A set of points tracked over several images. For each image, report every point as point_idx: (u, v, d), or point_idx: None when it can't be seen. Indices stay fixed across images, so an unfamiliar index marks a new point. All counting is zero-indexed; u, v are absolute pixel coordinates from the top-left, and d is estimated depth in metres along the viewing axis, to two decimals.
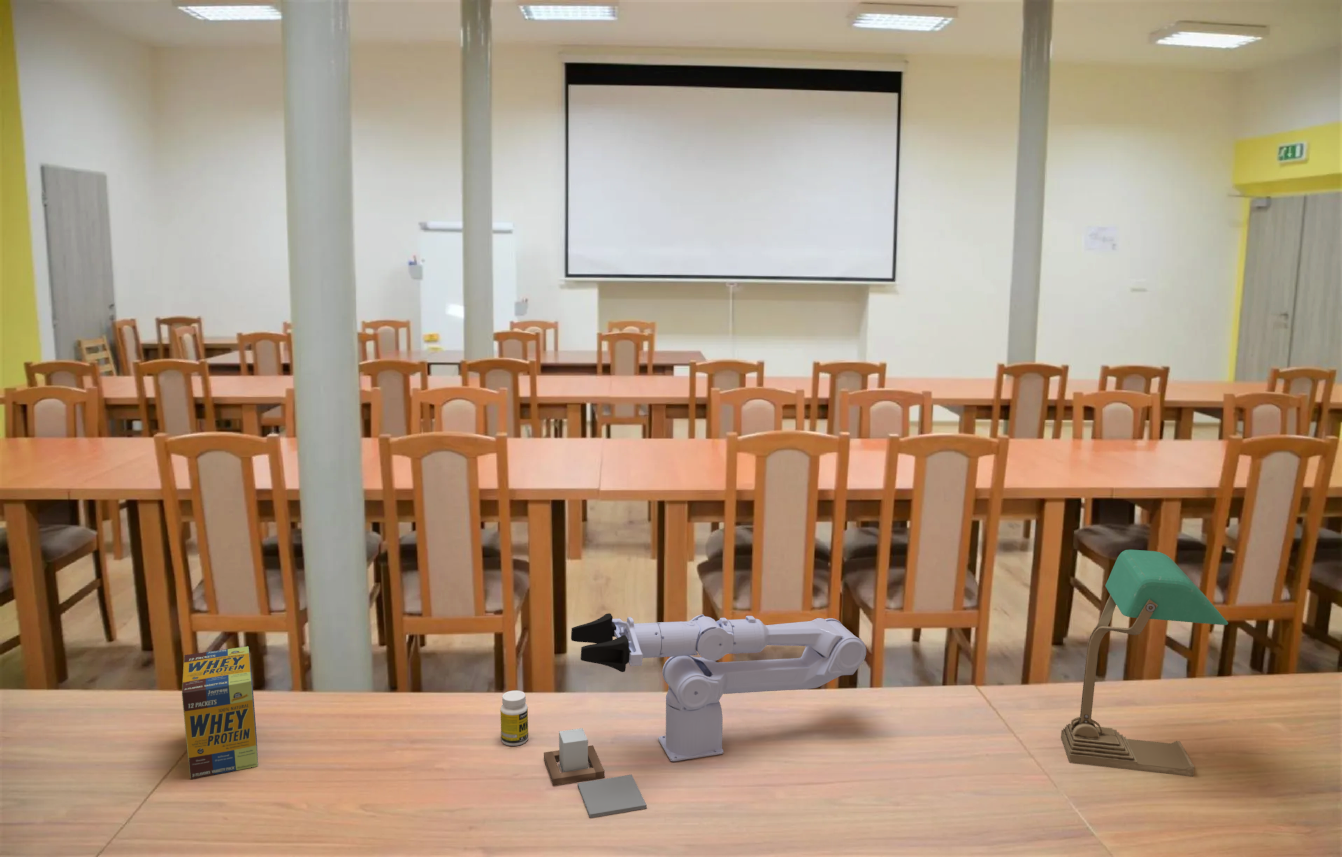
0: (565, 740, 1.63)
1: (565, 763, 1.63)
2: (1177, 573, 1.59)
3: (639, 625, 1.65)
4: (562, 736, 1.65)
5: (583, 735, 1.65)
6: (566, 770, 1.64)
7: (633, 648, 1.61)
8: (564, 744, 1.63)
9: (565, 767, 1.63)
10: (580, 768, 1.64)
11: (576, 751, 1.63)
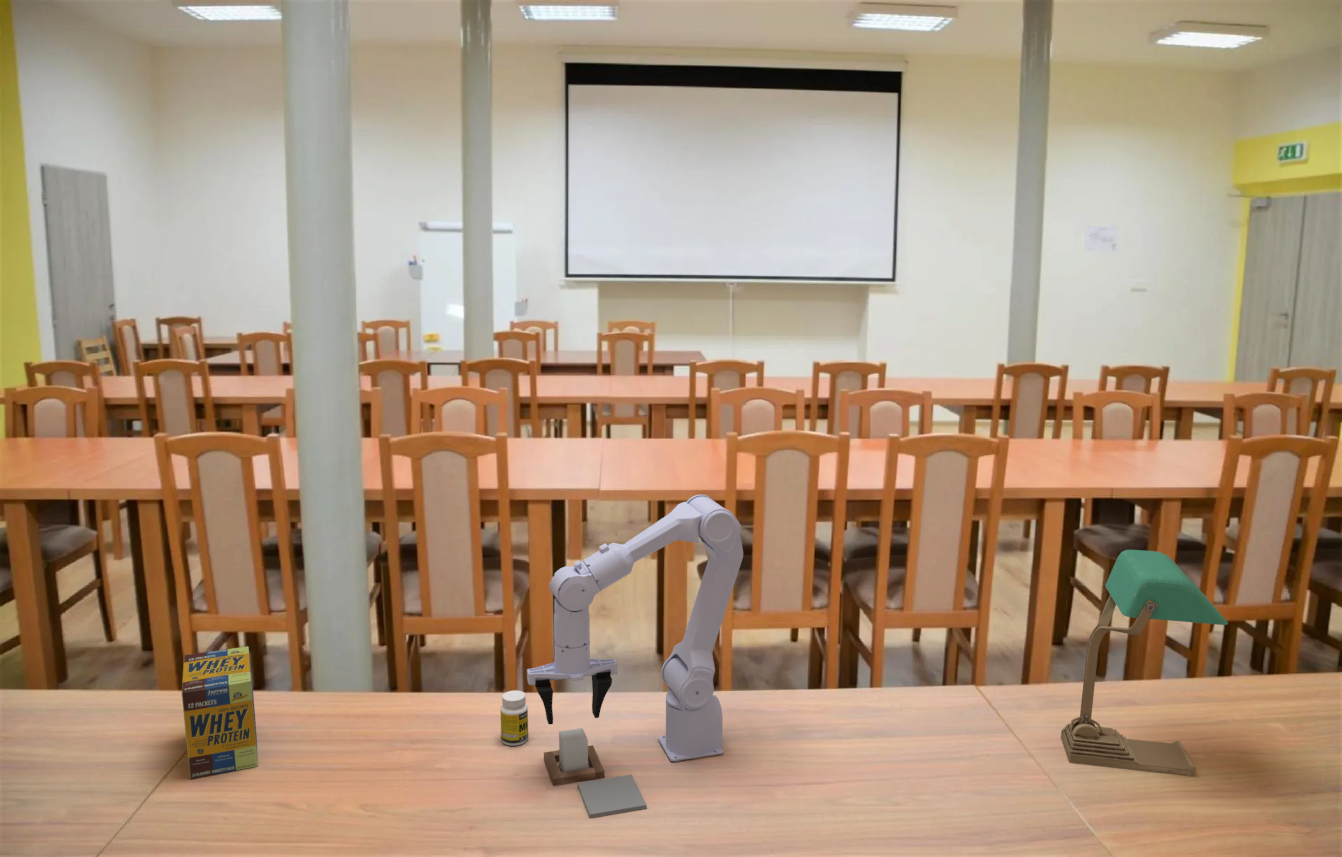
0: (565, 740, 1.63)
1: (565, 763, 1.63)
2: (1177, 573, 1.59)
3: (577, 666, 1.60)
4: (562, 736, 1.65)
5: (583, 735, 1.65)
6: (566, 770, 1.64)
7: None
8: (564, 744, 1.63)
9: (565, 767, 1.63)
10: (580, 768, 1.64)
11: (576, 751, 1.63)
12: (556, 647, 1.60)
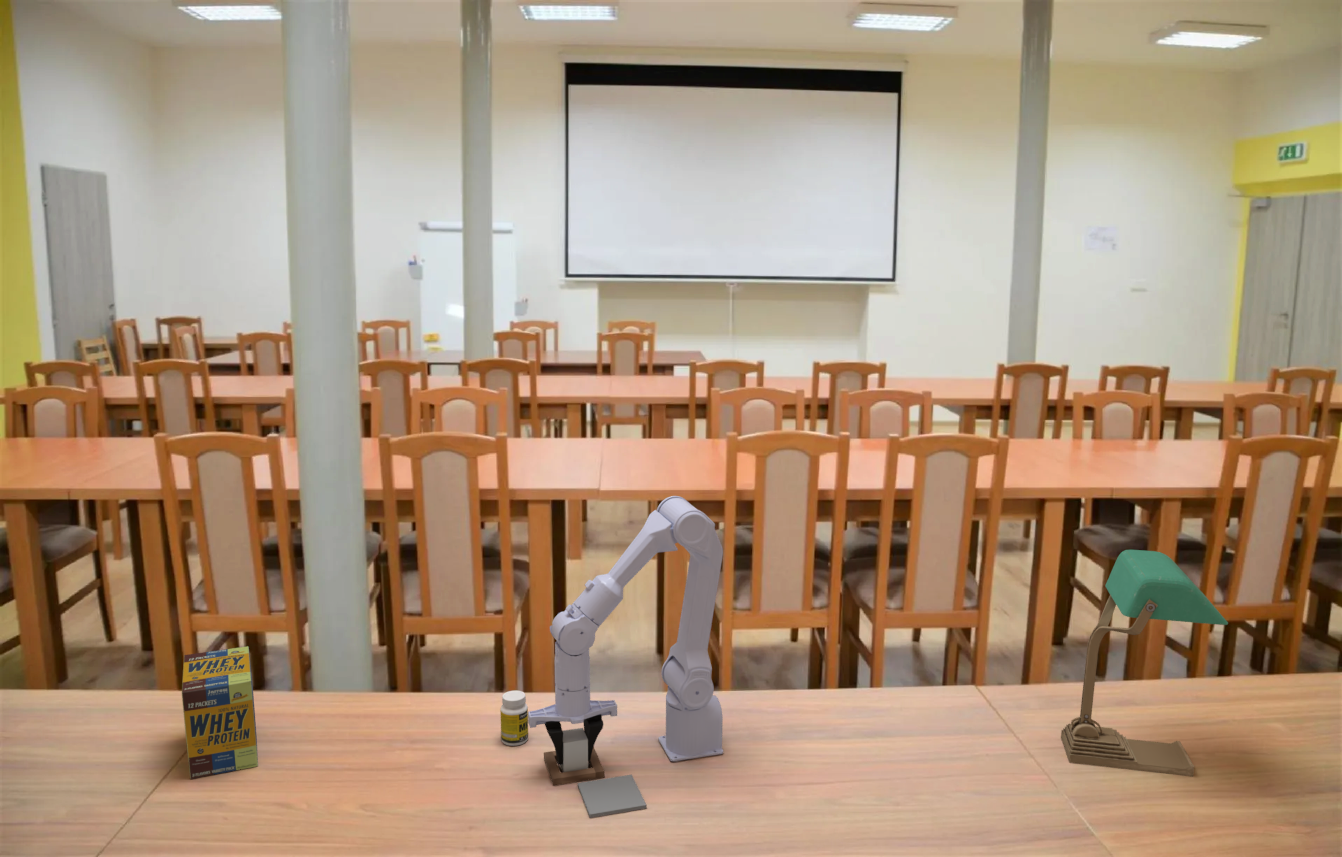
0: (565, 740, 1.63)
1: (565, 763, 1.63)
2: (1177, 573, 1.59)
3: (577, 709, 1.61)
4: None
5: (583, 735, 1.65)
6: (566, 770, 1.64)
7: None
8: (564, 744, 1.63)
9: (565, 767, 1.63)
10: (580, 768, 1.64)
11: (576, 751, 1.63)
12: (557, 690, 1.62)
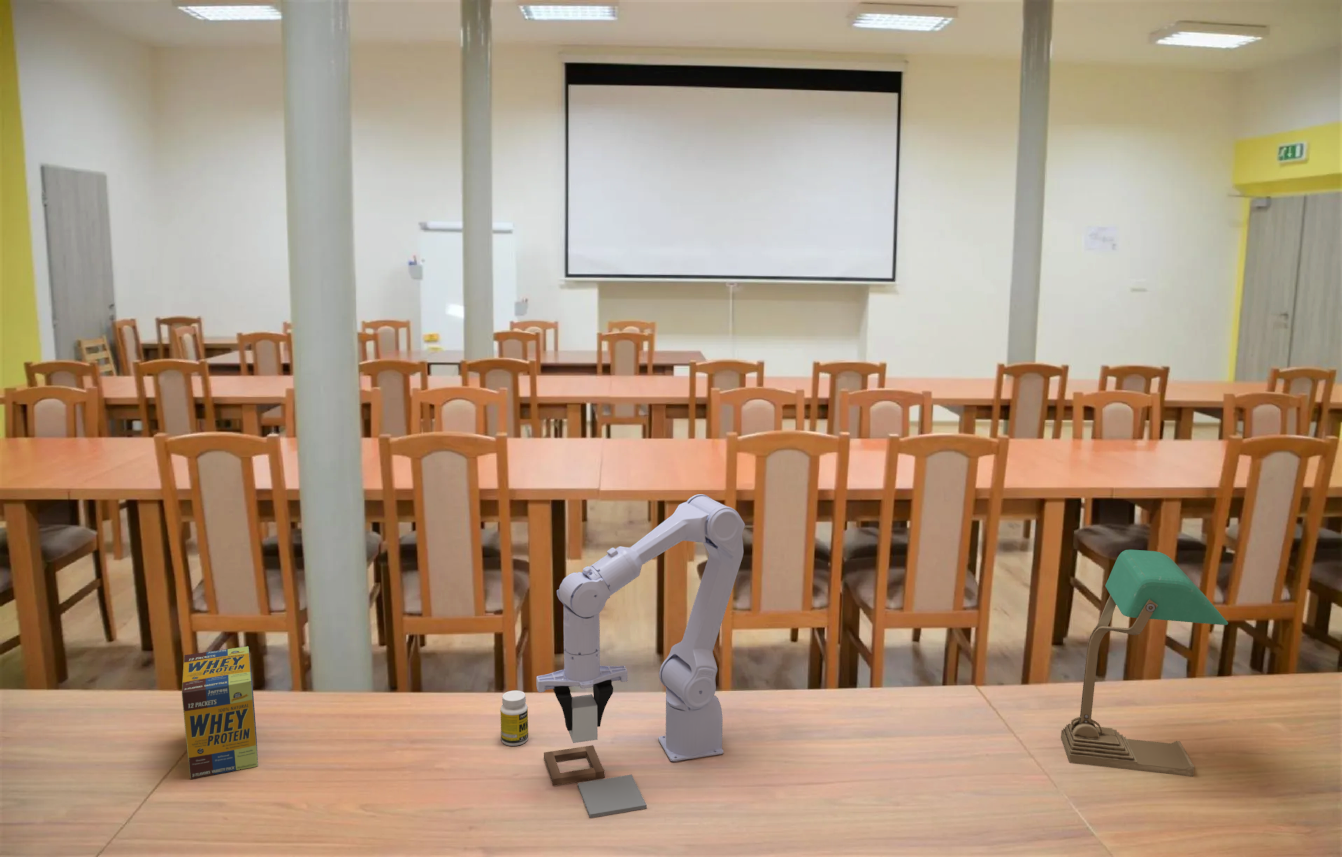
0: (574, 706, 1.60)
1: (574, 729, 1.60)
2: (1177, 573, 1.59)
3: (587, 673, 1.57)
4: None
5: (592, 701, 1.61)
6: (575, 736, 1.60)
7: None
8: (573, 710, 1.59)
9: (574, 733, 1.60)
10: (589, 734, 1.61)
11: (585, 717, 1.60)
12: (566, 654, 1.58)
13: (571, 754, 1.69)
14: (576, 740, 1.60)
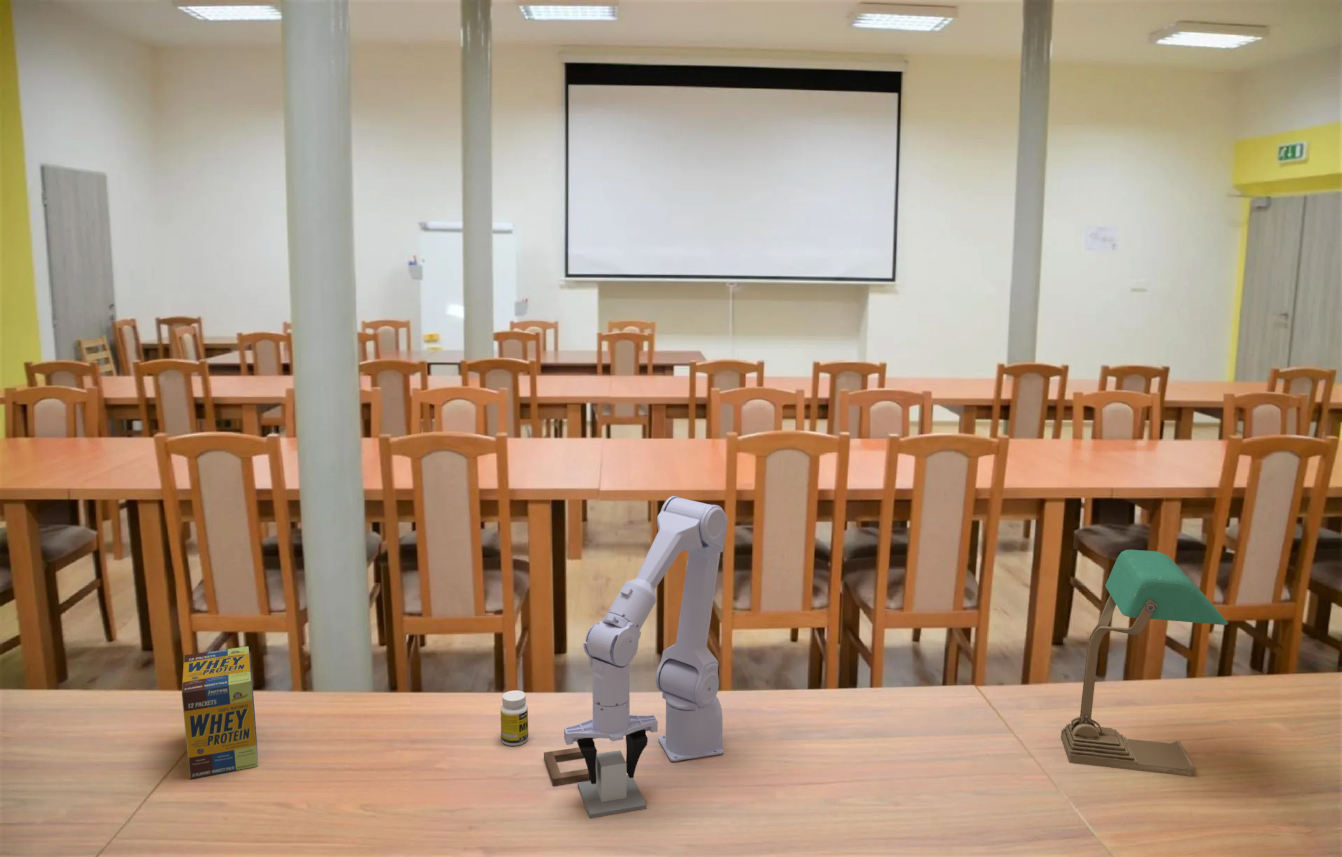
0: (603, 763, 1.55)
1: (603, 788, 1.55)
2: (1177, 573, 1.59)
3: (617, 725, 1.53)
4: (599, 759, 1.56)
5: (621, 758, 1.57)
6: (604, 795, 1.55)
7: None
8: (602, 768, 1.54)
9: (603, 792, 1.55)
10: (618, 793, 1.56)
11: (614, 775, 1.55)
12: (595, 705, 1.53)
13: (571, 754, 1.69)
14: (605, 799, 1.56)
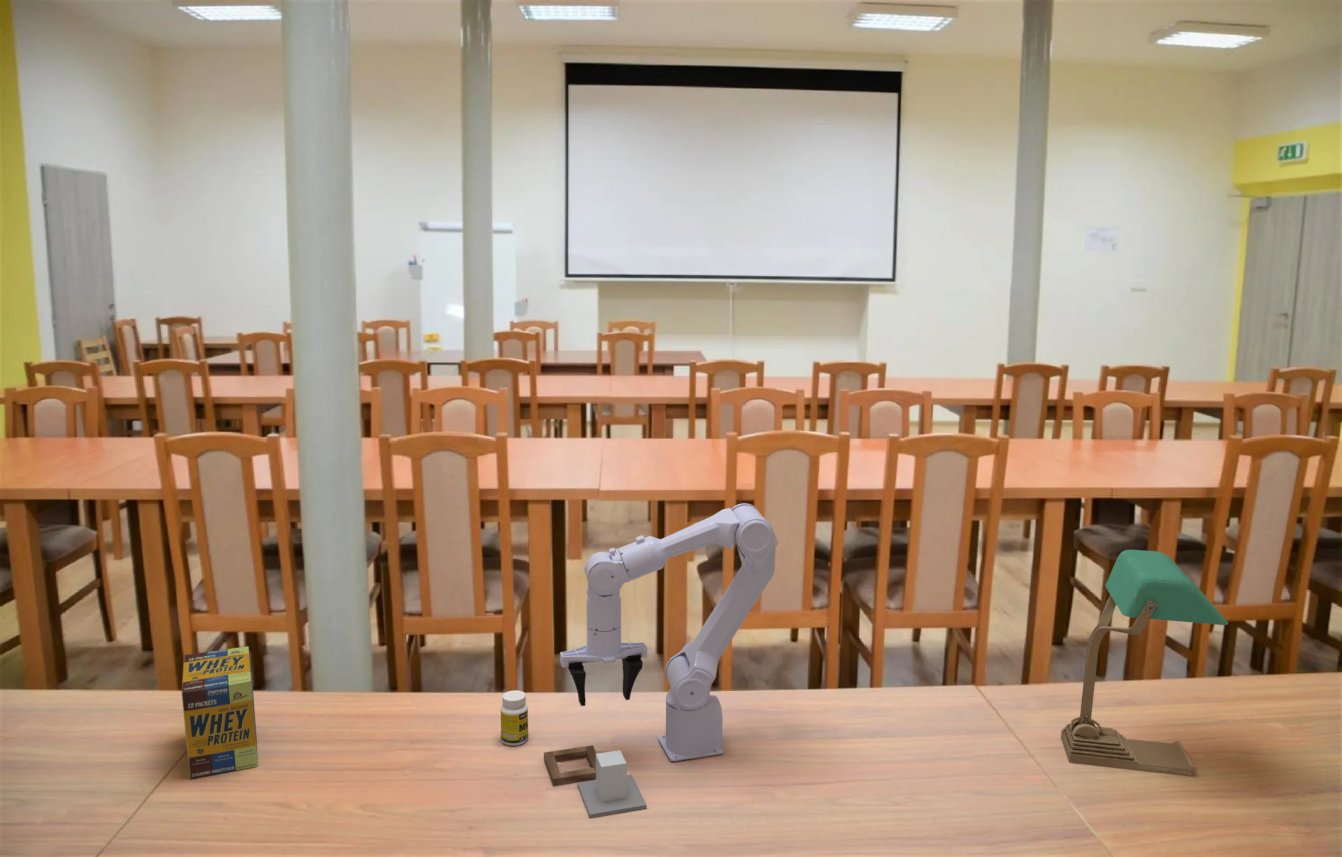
0: (603, 763, 1.55)
1: (603, 788, 1.55)
2: (1177, 573, 1.59)
3: (609, 649, 1.64)
4: (599, 759, 1.56)
5: (621, 758, 1.57)
6: (604, 795, 1.55)
7: None
8: (602, 768, 1.54)
9: (603, 792, 1.55)
10: (618, 793, 1.56)
11: (614, 775, 1.55)
12: (589, 631, 1.64)
13: (571, 754, 1.69)
14: (605, 799, 1.56)
